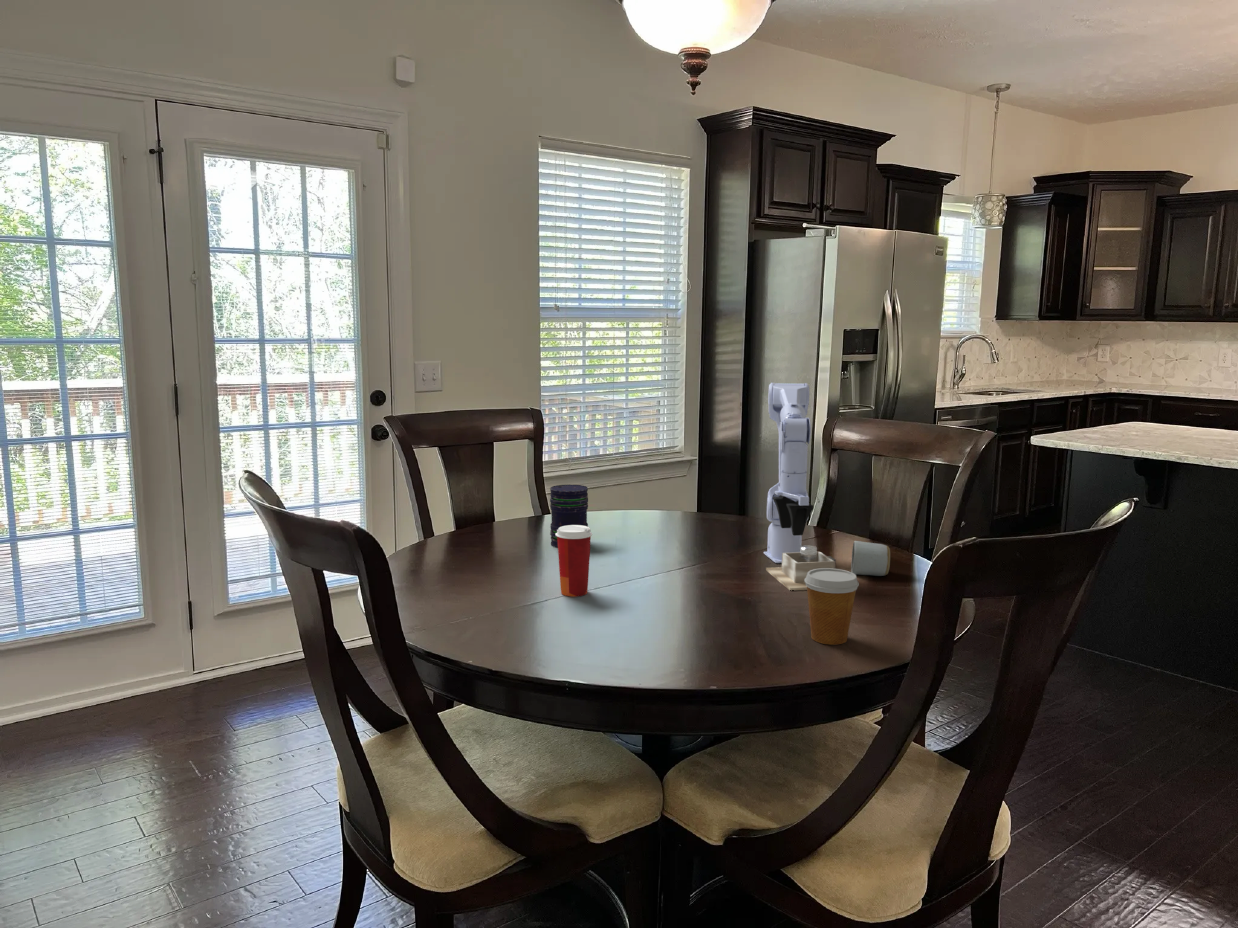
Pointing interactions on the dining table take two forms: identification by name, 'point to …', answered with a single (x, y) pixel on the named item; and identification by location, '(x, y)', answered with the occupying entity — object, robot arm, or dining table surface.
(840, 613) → the disposable coffee cup
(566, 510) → the storage jar
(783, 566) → the base
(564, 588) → the paper cup
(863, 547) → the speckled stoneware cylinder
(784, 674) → the dining table surface
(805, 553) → the plunger
